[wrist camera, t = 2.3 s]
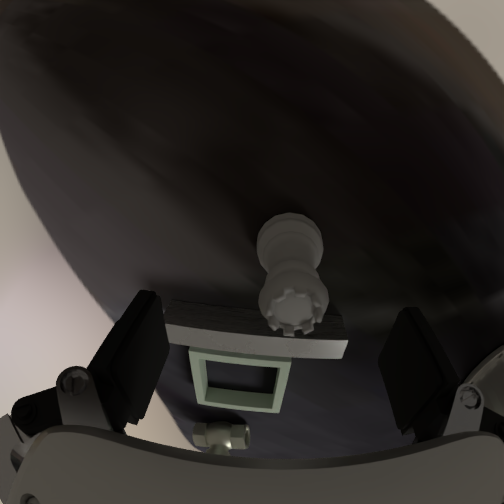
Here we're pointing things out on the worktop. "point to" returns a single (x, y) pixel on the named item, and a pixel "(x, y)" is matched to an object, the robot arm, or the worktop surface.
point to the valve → (221, 437)
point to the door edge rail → (250, 332)
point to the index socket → (232, 397)
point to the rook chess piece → (291, 273)
